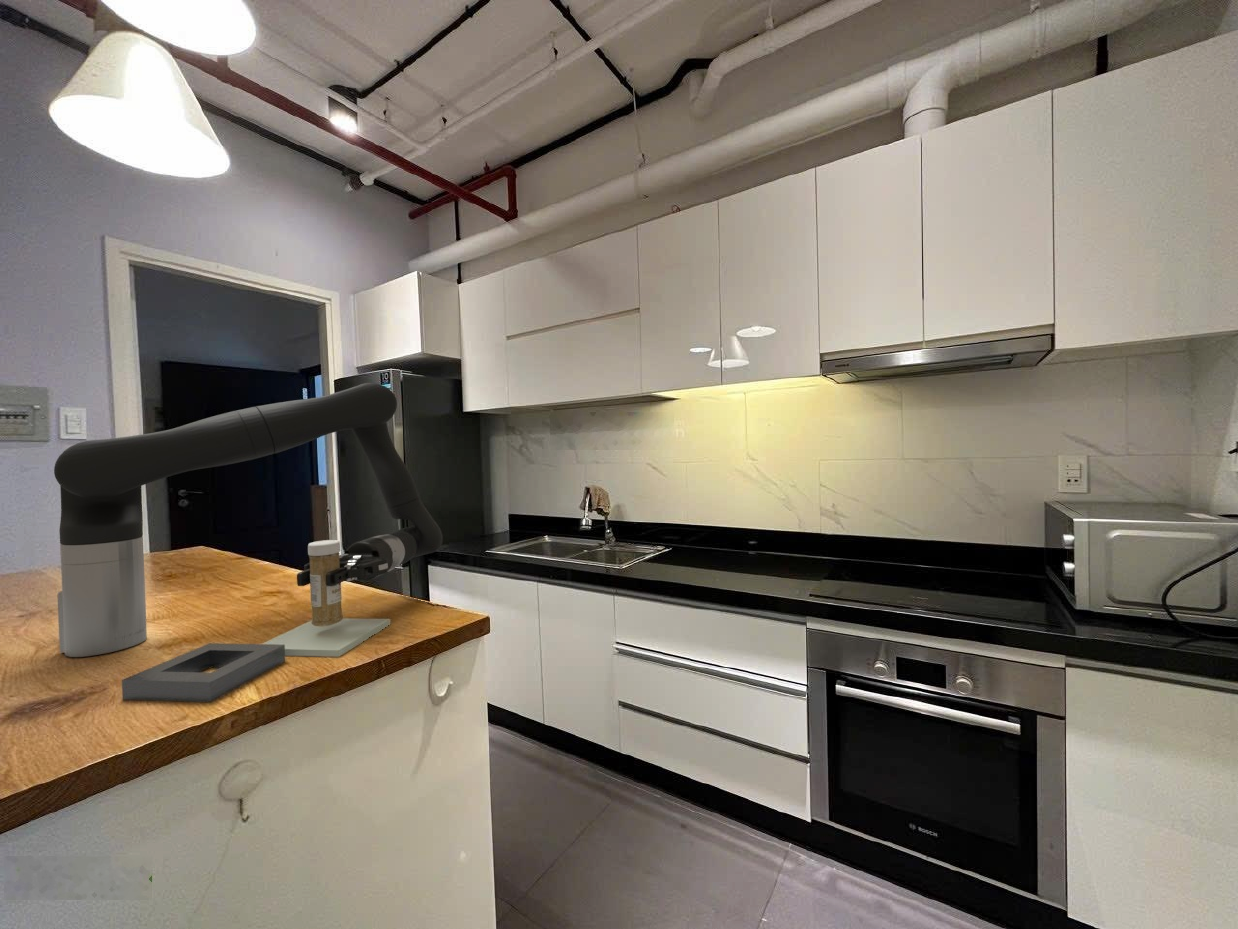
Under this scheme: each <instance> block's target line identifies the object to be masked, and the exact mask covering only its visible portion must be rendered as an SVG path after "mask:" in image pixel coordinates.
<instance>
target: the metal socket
mask: <svg viewBox="0 0 1238 929" xmlns="http://www.w3.org/2000/svg"><path fill="white" fill-rule="evenodd" d="M285 662H286V656H285V645H278V644H263V643H223V642H222V643H218V642H216V643H215V642H214V643H213V642H212V643H211V642H209V643H207V644H205V645H202V646H199V647H196V648H195V649H193V650H190V651H188V652H185V653H183V654H180V655H178V656H176V657H173V658H171V659H169V660H168V659H167V660H166V661H163V662H160V663H159V664H157V665H154V666H151V667H149V668H148V669H144V670H142V671H140V672H137V673H135V674H133V675H130V676H128V677H126V678H122V679H121V689H122V690H121V692H122V693H121V694H122V700H123V701H125V700H126V701H154V702H155V701H156V702H157V701H159V702H187V703H212V702H215V701H216V700H218V699H219V698H221V697H224V696H225V695H227V694H229V693H231V692H232V691H234V690H237V689H238V688H239V687H242V686H243V685H245V684H247V683H248V682H251V681H252V680H254V679H256V678H258V677H260V676H262V675H264V674H265V673H267V672H269V671H271V670H273V669H274V668H277V667H278V666H280V665H281V664H284V663H285ZM210 668H217V669H215V670H213V671H210V672H203V671H206V670H207V669H210ZM261 674H262V675H261ZM250 680H251V681H250Z"/></svg>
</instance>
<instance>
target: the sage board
mask: <svg viewBox="0 0 1238 929" xmlns="http://www.w3.org/2000/svg"><path fill="white" fill-rule="evenodd" d="M388 625H389V626H390V625H391V619H390V618H351V617H350V618H344V617H343V619H342V620H341V621H340V622H338V623H335V624H332V625H329V626H314V625H312V619H310V620H309V621H307V622H304V623H303V624H300V625H299V626H297V627H294V628H292V629H290V630H288V631H287V632H286V631H285V632H283V633H281V634H279V635H278V636H275V637H273V638H271V639H269V640H267V641H265V642H263V643H262V644H278V645H285V657H286V656H287V657H288V656H289V657H326V658H327V657H330V658H340V657H341V656H342V655H344V654H346V653H347V652H349V651H350V650H353V649H354V648H356V647H357V646H359V645H360V644H362V643H363V641H364V642H365V641H366V640H367V641H368V639H370V638H372V637H373V636H375V635H376V634H378V633H379V632H381V631H383V630H384V629H386V628H387V627H389V626H388ZM385 627H386V628H385ZM382 629H383V630H382ZM374 634H375V635H374ZM372 635H373V636H372ZM371 636H372V637H371ZM369 637H370V638H369Z"/></svg>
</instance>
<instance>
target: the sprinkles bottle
mask: <svg viewBox="0 0 1238 929" xmlns="http://www.w3.org/2000/svg"><path fill="white" fill-rule="evenodd" d="M340 552H341V542H340V540H336V539H326V540H325V539H323V540H317V541H313V542H309V543H308V545H307V555H308V558H309V563H310V584H309V586H310V605H311V617H312V619H311V620H312V625H314V626H329V625H332V624H335V623H338V622H340V621H341V620H342V619H343V618H344V616H343V611H342V610H343V609H342V599H343V598H342V582H341V583H339V584H336V585H334V586H326V574H327V573H328V572H331V571H333V570H336V569H339V568H340V564H339V555H341V554H340Z"/></svg>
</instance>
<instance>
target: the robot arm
mask: <svg viewBox="0 0 1238 929" xmlns="http://www.w3.org/2000/svg"><path fill="white" fill-rule="evenodd" d="M397 407H398V401H397V397H396V395H395V393H394V392H393V391H392V390H391V389H390V388H388V387H387V386H385V385H382V384H380V383H376V382H365V383H361V384H359V385H355V386H353V387H350V388H347V389H343V390H339V391H337V392H333V393H330V394H325V395H323V396H318V397H311V398H305V399H296V400H294V399H293V400H288V401H283V402H282V401H281V402H280V401H279V402H275V403H269V404H264V405H263V404H262V405H256V406H251V407H247V408H243V409H238V410H237V409H236V410H233V411H229V412H224V413H221V414H217V415H214V416H210V417H206V418H203V419H199V420H196V421H193V422H190V423H187V424H183V425H180V426H177V427H175V428H171V429H166V430H161V431H155V432H151V433H149V432H148V433H144V434H137V435H129V436H121V437H115V438H114V437H113V438H104V439H92V440H85V441H81V442H78V443H76V444H74V445H71V446H70V447H68V448H66V449H65V450H64V451H62V452H61V453H60V455H59V456H58V457H57V459H56V462H55V464H54V466H53V469H54V470H53V473H54V478H55V480H56V482H57V483H58V484H59V485H60V486H59V487H60V489H59V490H60V522H59V531H58V532H59V546H60V548H59V549H60V569H61V571H60V572H61V591H59V592H58V593H57V616H58V617H57V618H58V619H57V620H58V643H59V653H64V656H66V657H70V658H81V657H82V658H83V657H91V656H97V655H104V654H109V653H110V654H111V653H112V652H117V651H121V650H125V649H128V648H131V647H134V646H137V645H139V644H141V643H143V642H145V641H146V640H147V638H148V636H147V635H148V633H147V608H146V607H147V605H146V604H147V603H146V584H145V583H146V582H145V581H146V578H145V553H144V536H143V535H144V529H143V528H144V521H143V520H144V519H143V517H144V516H143V515H144V514H143V495H142V494H143V493H142V490H143V489H142V486H145V485H148V484H149V483H150V484H151V483H153V482H156V481H160V480H163V479H165V478H168V477H172V476H175V475H178V474H183V473H186V472H189V471H190V472H191V471H195V470H201V469H208V468H215V467H222V466H227V465H233V464H237V463H241V462H247V461H252V460H255V459H259V458H260V459H261V458H263V457H266V456H270V455H273V454H278V453H281V452H285V451H287V450H289V449H293V448H295V447H298V446H301V445H304V444H306V443H309V442H311V441H314V440H317V439H319V438H322V437H323V436H326V435H330V434H332V433H336V432H340V431H345V430H352V432H353V433H354V435H355V437H356V438H357V440H358V442H359V444H360V446H361V447H362V449H363V451H364V452H363V453H364V454H365V455H366V458H367V459H368V462H369V464H370V467H371V469H372V471H373V474H374V475H375V476H374V477H375V478H376V481H377V483H378V484H377V485H378V487H379V489H380V492H381V495H382V497H383V500H384V503H385V505H386V508H387V510H388V512H389V516H390V517H391V518H392V519H393V520H407V521H410V522H411V523H412V524H413V525H411V526H408V527H407V526H406V527H404V528H403V527H402V528H400V529H398V530H395V531H392V532H390V533H389V532H388V533H386V534H381V535H376V536H375V535H374V536H371V537H369V538H366V539H362V540H359V541H356V542H354V543H352V544H351V545H349V547H347V549H346V550H345V552H344V553H343V554H339V564H340V568H339V569H336V570H333V571H331V572H328V573H327V574H326V586H334V585H336V584H339V583H341V584H342V583H343V582H352V581H358V582H369V581H371V580H374V579H376V578H379V577H381V576H382V575H384V574H387V573H389V572H391V571H393V570H394V569H396V568H397V567H400V566H402V565H403V564H406V563H407V562H409V561H410V560H412V559H413V558H416V557H420V556H424V555H429V554H432V553H435V552H437V551H439V549H440V548H441V547H442V545H443V540H444V538H443V533H442V529H441V528H440V526H439V525H438V523H437V522H436V520H435V519H434V518H433V516H432V515H431V514H430V512H429V511H428V509H427V508H426V507H425V505H424V503H423V502H422V500H421V497H420V494H419V491H418V489H417V486H416V483H415V481H414V478H413V476H412V474H411V472H410V471H409V468H408V467H407V465H406V464H405V462H404V461H403V459H402V458H401V456H400V454H399V453H398V451H397V449H396V447H395V446H394V444H393V441H392V439H391V436H390V432H389V428H388V424H387V423H388V422H389V421H390V420H391V419H392V418H393V417H394V415H395V413H396V411H397ZM303 567H304V568H303V569H304V570H302V571H299V572H298V573H297V574H296V584H297V586H298V587H304V586H305V587H306V586H308V585H310V562H308V563H306V564H304V565H303Z"/></svg>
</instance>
